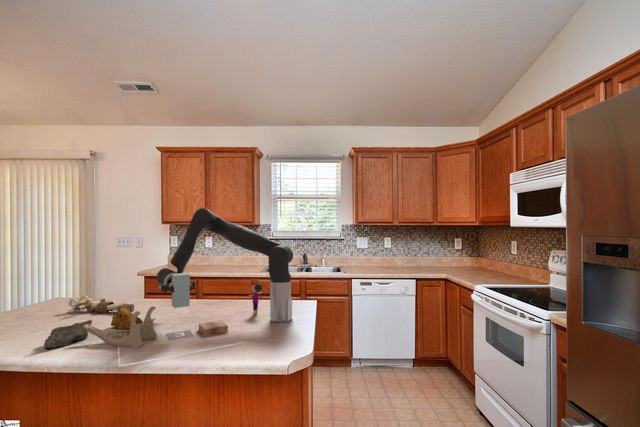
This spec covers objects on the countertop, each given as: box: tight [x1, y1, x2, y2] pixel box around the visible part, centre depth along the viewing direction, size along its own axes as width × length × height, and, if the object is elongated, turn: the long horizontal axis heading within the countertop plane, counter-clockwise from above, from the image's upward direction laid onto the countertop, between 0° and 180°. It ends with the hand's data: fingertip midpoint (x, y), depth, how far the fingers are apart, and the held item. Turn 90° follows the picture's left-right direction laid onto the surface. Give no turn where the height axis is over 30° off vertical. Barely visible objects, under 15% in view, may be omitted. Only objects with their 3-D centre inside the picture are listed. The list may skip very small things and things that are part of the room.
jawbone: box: [84, 306, 158, 349], centre depth 120 cm, size 25×10×14 cm, turn 83°
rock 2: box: [110, 308, 144, 331], centre depth 138 cm, size 11×8×10 cm
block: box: [171, 272, 191, 309], centre depth 128 cm, size 6×6×12 cm
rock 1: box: [43, 319, 93, 349], centre depth 121 cm, size 17×7×10 cm
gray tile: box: [165, 329, 195, 341], centre depth 128 cm, size 9×9×1 cm
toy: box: [248, 281, 263, 315], centre depth 159 cm, size 10×6×15 cm, turn 154°
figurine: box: [68, 295, 135, 314], centre depth 164 cm, size 24×7×30 cm
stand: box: [198, 319, 229, 337], centre depth 132 cm, size 9×9×3 cm
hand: (181, 289), depth 126 cm, fingers closed on block, 5 cm apart
